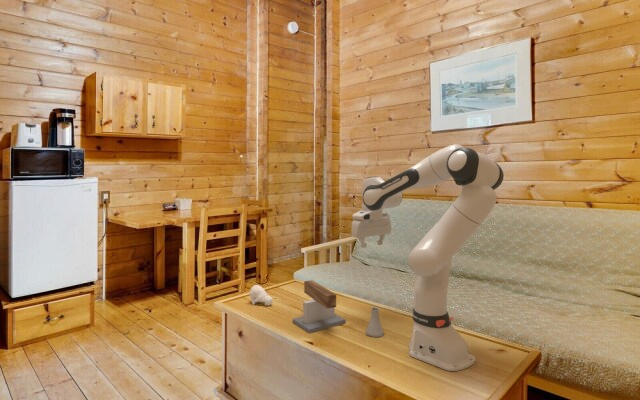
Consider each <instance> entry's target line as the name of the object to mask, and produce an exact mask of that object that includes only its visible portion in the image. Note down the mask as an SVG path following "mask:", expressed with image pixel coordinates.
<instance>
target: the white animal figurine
mask: <svg viewBox="0 0 640 400" xmlns="http://www.w3.org/2000/svg"><path fill="white" fill-rule="evenodd" d="M248 295H249V298H250V300H251V303H252V305H253V306H255V305H256V303H264V306H268V307H269V306H271V304H272V303H273V301H274V300H273V297H272V296H270V295H269V294H268V292H266V290H265V289H264V287H262V286H261V285H259V284H255V285H253V286H251V288H250V290H249V293H248Z"/></svg>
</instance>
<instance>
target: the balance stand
mask: <svg viewBox="0 0 640 400" xmlns="http://www.w3.org/2000/svg"><path fill="white" fill-rule="evenodd" d="M346 322H347V319H346V318H344V317H342V316H340V315H338V314H336V313H335V307H334V308H328V309H327V308H325V307H324V306H323V305H321V304H320V303H318V302H317V301H316V300H314V299H313V298H312V299H309V300H305V301H303V302H302V316H300V317H299V316H298V317H295V318H292V323H293V324H294V325H296V326H297V327H299V328H301V329H302V330H303V331H305V332H306V333H308V334H310V333H316V332H318V331H323V330H326V329H328V328H333V327H336V326H340V325H344V324H346Z"/></svg>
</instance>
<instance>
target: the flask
mask: <svg viewBox="0 0 640 400" xmlns="http://www.w3.org/2000/svg"><path fill="white" fill-rule="evenodd" d="M370 310H371V314H370V315H371V316H370V319H369V322H368V325H367V327H366V329H365V335H366V336H369V337H374V338H381V337H382V336H384V335H385V333H384V330H383V327H382V323H381V321H380V316H379V311H380V308H379V307H376V306H374V307H371V308H370Z"/></svg>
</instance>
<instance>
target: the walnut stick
mask: <svg viewBox="0 0 640 400" xmlns="http://www.w3.org/2000/svg"><path fill="white" fill-rule="evenodd" d="M303 282H304V283H303V284H304V285H303V289H304V293H305V294H306V295H307V296H308V297H309V298H311V299H312V300H313V299H314V300H316V301H317V302H318V303H320V304H321V305H323V306H324V307H325V308H327V309H328V308H334V309H335V308H337V294H336V293H334V292H333V291H331V290H329V289H328V288H326V287H324V286H323V285H321V284H320V283H318V282H317V281H315V280H312V279H310V280H305V281H303Z"/></svg>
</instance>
